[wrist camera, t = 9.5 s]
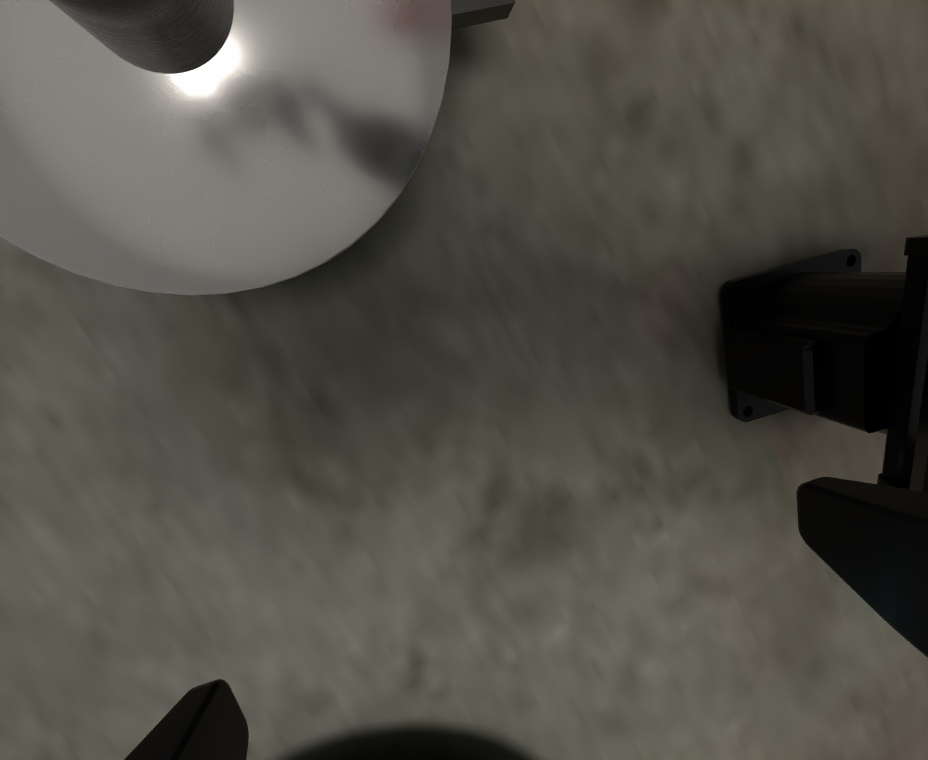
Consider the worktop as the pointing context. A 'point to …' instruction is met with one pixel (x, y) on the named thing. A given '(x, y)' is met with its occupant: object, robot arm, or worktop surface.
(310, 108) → the lid
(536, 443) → the worktop surface
